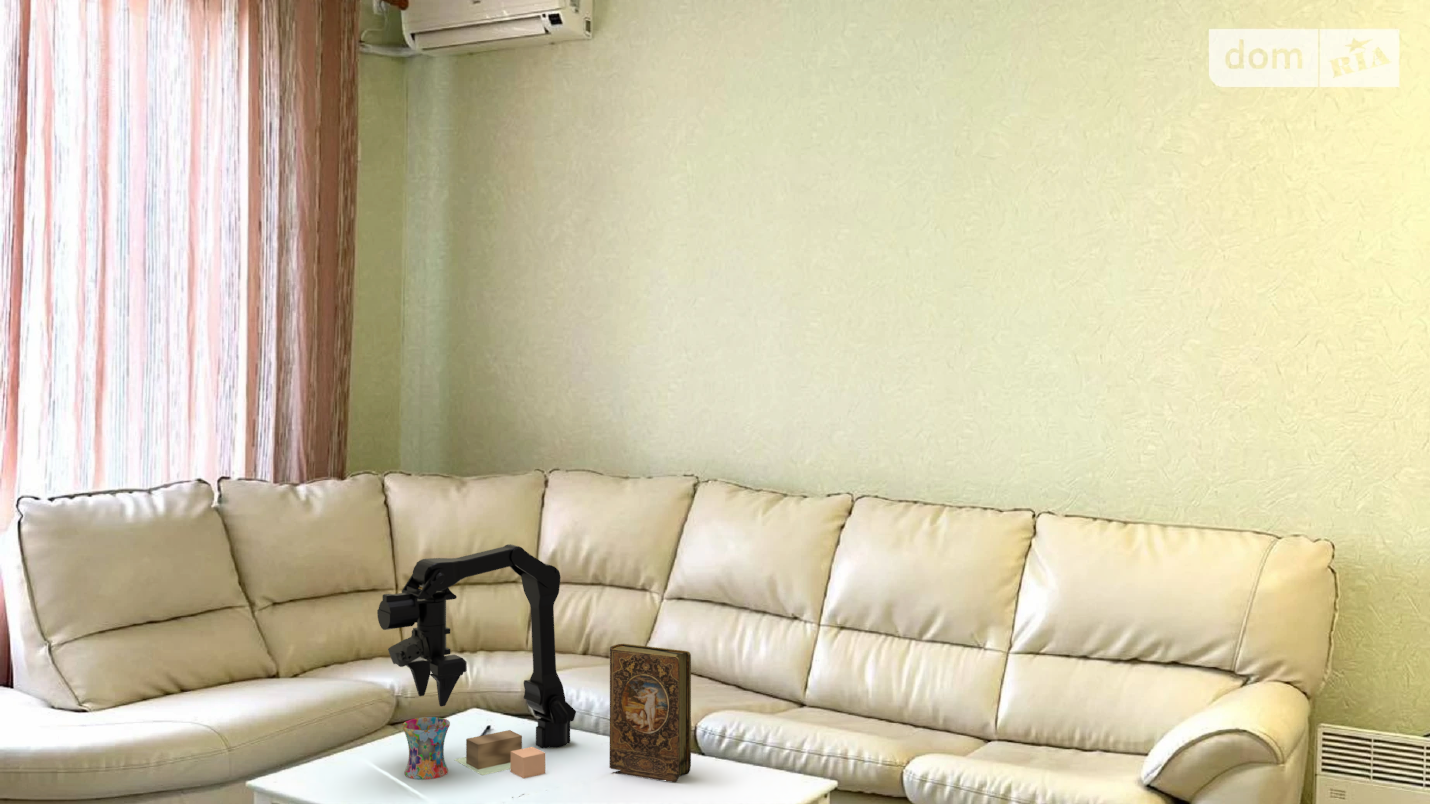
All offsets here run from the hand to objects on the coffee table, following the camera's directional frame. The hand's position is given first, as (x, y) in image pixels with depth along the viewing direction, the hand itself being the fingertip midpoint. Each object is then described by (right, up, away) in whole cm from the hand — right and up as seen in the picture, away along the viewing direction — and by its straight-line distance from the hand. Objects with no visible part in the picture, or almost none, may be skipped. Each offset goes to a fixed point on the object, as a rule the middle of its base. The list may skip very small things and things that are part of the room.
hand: (431, 700), depth 263 cm
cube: (+19, -15, 0) cm, 24 cm away
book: (+43, -15, +2) cm, 46 cm away
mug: (-1, -15, 0) cm, 15 cm away
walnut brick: (+11, -14, +6) cm, 19 cm away
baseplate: (+11, -15, +6) cm, 19 cm away
